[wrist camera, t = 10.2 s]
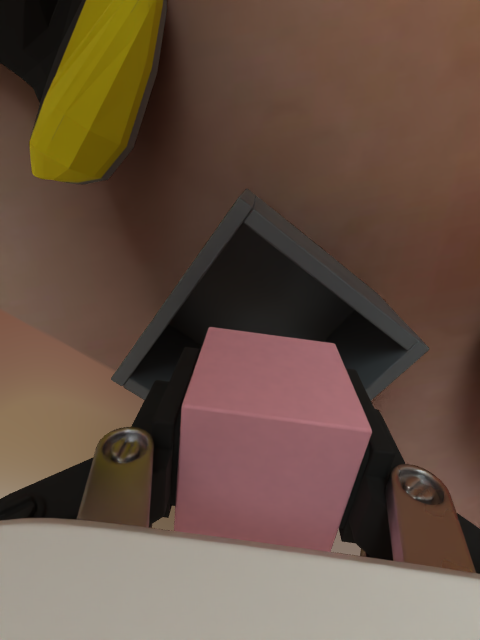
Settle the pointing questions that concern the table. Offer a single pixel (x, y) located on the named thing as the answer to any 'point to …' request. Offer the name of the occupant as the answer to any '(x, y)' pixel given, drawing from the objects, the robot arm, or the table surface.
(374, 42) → the table surface
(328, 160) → the table surface
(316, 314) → the grey bin
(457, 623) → the robot arm
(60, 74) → the gaming controller
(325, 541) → the pink block
